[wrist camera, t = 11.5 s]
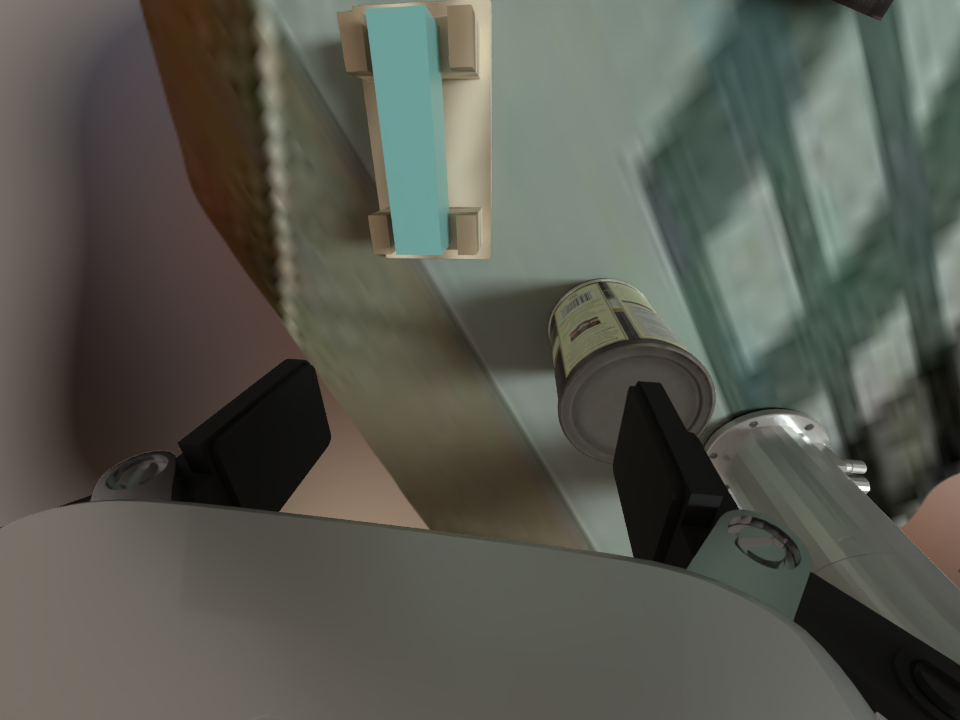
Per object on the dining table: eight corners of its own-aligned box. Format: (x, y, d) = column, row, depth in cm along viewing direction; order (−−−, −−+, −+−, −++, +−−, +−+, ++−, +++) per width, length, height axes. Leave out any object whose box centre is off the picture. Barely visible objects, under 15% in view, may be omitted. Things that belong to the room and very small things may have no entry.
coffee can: (615, 384, 41) (652, 484, 29) (530, 347, 40) (532, 434, 28) (676, 304, 36) (753, 384, 24) (581, 259, 35) (611, 318, 23)
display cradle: (491, 3, 27) (483, -31, 22) (491, 256, 36) (485, 273, 31) (357, 11, 28) (320, -20, 23) (389, 255, 37) (367, 271, 32)
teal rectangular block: (439, 25, 25) (424, 5, 21) (450, 243, 31) (441, 255, 28) (385, 28, 25) (362, 8, 22) (408, 243, 32) (394, 254, 28)
